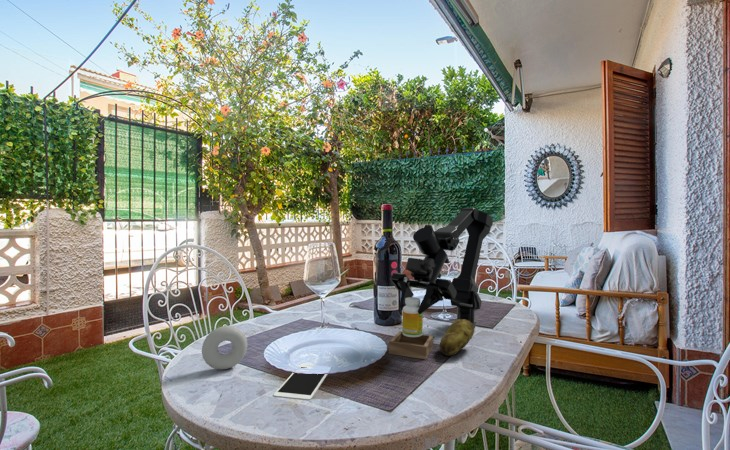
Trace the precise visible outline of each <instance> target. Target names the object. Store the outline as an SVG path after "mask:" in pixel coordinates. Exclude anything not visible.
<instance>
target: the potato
mask: <svg viewBox="0 0 730 450" xmlns="http://www.w3.org/2000/svg"><path fill="white" fill-rule="evenodd" d="M474 332H475V328H474V325H473V323H471V322H470V321H468V320H465V319H457V318H456V319H455V320H454V321H452V323H451V324H450V325H449V327H448V328H447V330H446V331H445V332H444V334H443V336H442V337H441V339H440V342H439V349H440V351H441V353H442V354H443V355H445V356H446V357H449V356H454V355H456V354H457V353H458V352H459V351H461V350H463V349H464V348H465V347H466V346H467V345H468V343H469V342H470V341H471V340H472V338H473V337H474V334H475V333H474Z"/></svg>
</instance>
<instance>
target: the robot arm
mask: <svg viewBox="0 0 730 450" xmlns="http://www.w3.org/2000/svg"><path fill="white" fill-rule="evenodd" d="M493 224H494V219H493V217H492V216H491V215H490V214H489V213H487V212H484V211H481V210H479V209H478V208H475V207H464V208H461V209H460V211H459V213H458V214H457V215H456V216H455V217H454V218H453V219H452V220H451V221H450V222H449V223H448V225H446V226H443V227H440V228H437V229H436V230H434V227H433V225H431V224H425V225H424V226H423V227H421V228H419V229H418V230H417V231H415V232H413V235H412V238H413V239H412V240H413V241H414V243H415V244H416V247H418V250H419V252H420V253H421V255H425V256H424V258H423V259H421V258H413V257H408V258H407V261H406V266H405V267H404V268H405V270H406V271H409V272H410V275H411V276H410V277H412V278H413V279H412V278H409V277H408V276H407V274H406V273H402V272H401V273H400V272H393V273H392V274H391V276H390V278H389V280H390V282H391V283H392V284H393V286H394V287H395V288H396V290H397V291H400V303H399V309H400V311H403V307H404V306H406V304H405V298H408V297H413V296H414V293H413V291H412V289H413V288H416V289H422V290H425V294H424V296H423V298H422V300H421V301H420V305H419V309H418V313H419V314H421V313H422V312H423V313H424V312H425V311H427V310H428V309H429V308H431V307H432V306H433V305H435V304H437V303H439V302H440V301H441V302H443V301H444V299H445V300H450V306H453V307H456V320H457V319H465V320H468V321H470V322H471V323H473V325H474V329H476V326H477V322H476V321H475V319H476V318H475V317H476V316H475V314H476V313H475V311H476V310H481V307H482V299H481V297H480V295H479V293H478V289H479V288H478V285H477V283H476V279H475V278H476V274H477V269H478V264H479V261H480V254H481V251H482V245H483V242H484V239H485V238H486V237H487V236H489V234H490V232H491V229H492V226H493ZM465 231H467V234H468V238H467V243H466V247H465V251H464V255H463V261H462V264H461V270H460V273H459V275H458V276H457V277H453V279H452V280H451V279H444V278H441V277H442V274H441V271H442V269H443V267H444V265H445V264H449V263H450V259H449V257H448V254H447V252H446V251H448V252H449V251H455V249H457V247H458V245H459V243H460V236H461V235H462V234H463V233H464V232H465Z"/></svg>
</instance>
